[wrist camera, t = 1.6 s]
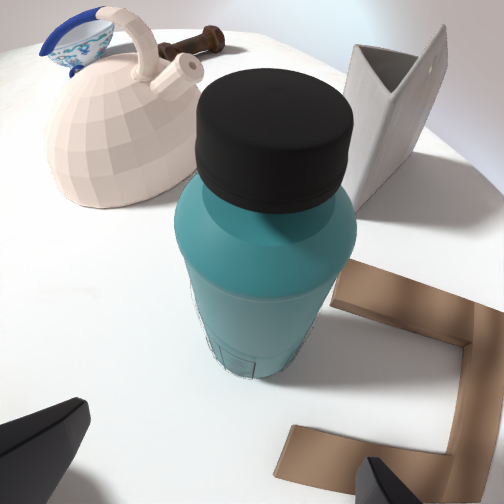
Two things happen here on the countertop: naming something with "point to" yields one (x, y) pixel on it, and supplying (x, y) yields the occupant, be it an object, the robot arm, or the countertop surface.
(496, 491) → the countertop surface
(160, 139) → the kettle
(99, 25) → the chinaware
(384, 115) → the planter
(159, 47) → the bolt
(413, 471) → the notched board
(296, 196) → the beverage bottle
